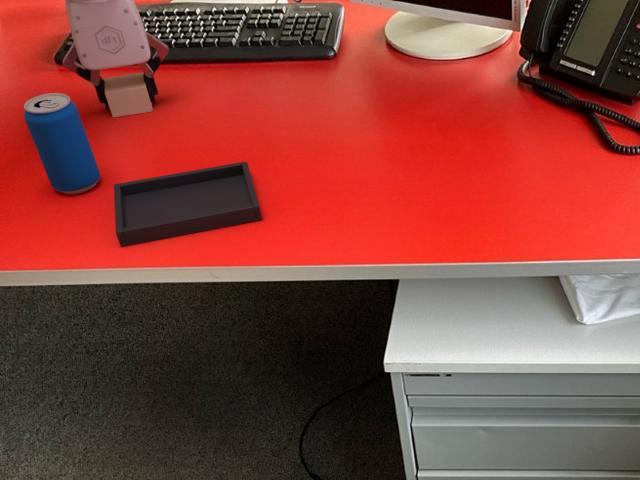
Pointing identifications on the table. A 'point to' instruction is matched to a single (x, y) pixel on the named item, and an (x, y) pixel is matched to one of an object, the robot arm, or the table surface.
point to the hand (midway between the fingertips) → (130, 101)
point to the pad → (127, 95)
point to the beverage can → (61, 143)
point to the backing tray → (185, 203)
